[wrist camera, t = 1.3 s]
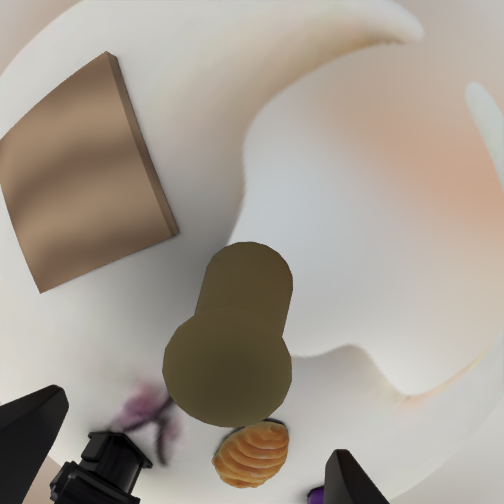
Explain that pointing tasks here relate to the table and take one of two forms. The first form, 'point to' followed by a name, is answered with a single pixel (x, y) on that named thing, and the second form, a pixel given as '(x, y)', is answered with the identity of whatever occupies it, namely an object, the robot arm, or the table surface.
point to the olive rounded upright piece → (234, 340)
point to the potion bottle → (316, 496)
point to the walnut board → (82, 178)
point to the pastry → (252, 454)
